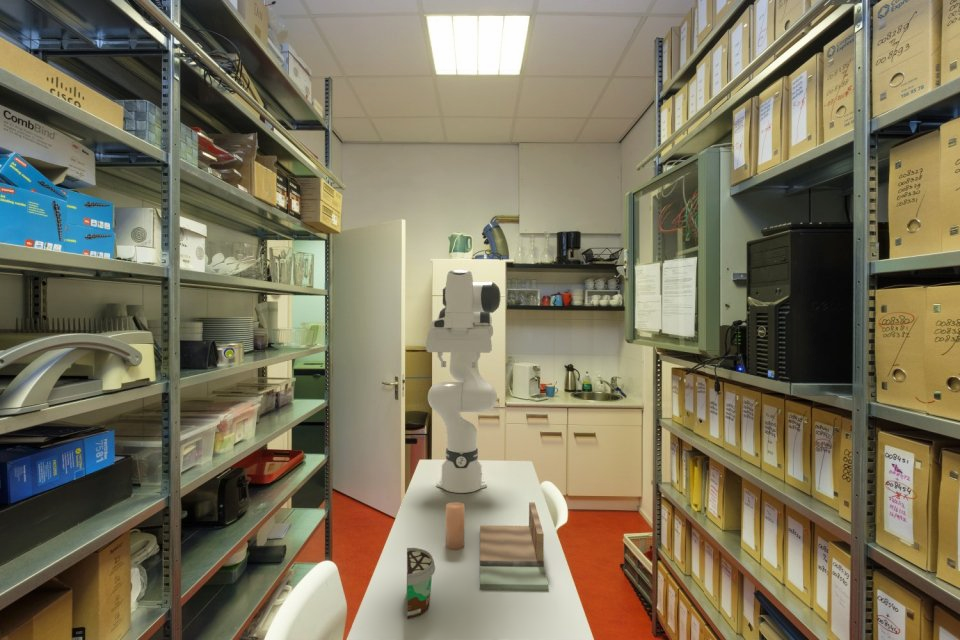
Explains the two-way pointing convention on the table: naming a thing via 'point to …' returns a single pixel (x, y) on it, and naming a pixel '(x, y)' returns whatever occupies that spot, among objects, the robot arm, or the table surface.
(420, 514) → the table surface
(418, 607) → the food container
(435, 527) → the table surface
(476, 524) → the table surface
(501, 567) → the brown wooden l-shaped board
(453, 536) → the peach cylinder
